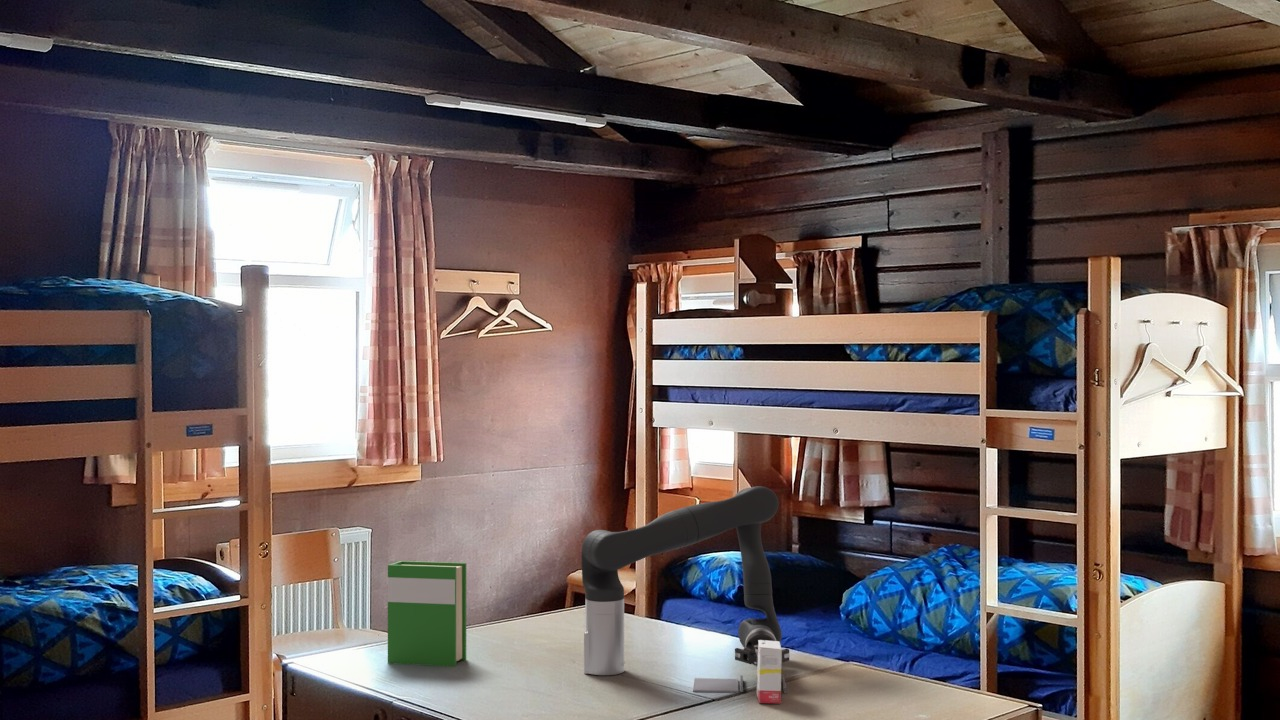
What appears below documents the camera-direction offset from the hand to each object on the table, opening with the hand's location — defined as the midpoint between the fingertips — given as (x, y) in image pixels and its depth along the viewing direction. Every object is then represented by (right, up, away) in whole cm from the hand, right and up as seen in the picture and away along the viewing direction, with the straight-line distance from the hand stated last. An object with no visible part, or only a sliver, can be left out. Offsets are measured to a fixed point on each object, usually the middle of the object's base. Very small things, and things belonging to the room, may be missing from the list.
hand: (763, 663), depth 261 cm
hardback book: (-80, -8, +33) cm, 87 cm away
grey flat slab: (-5, -7, +7) cm, 11 cm away
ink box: (+1, -7, -5) cm, 8 cm away
